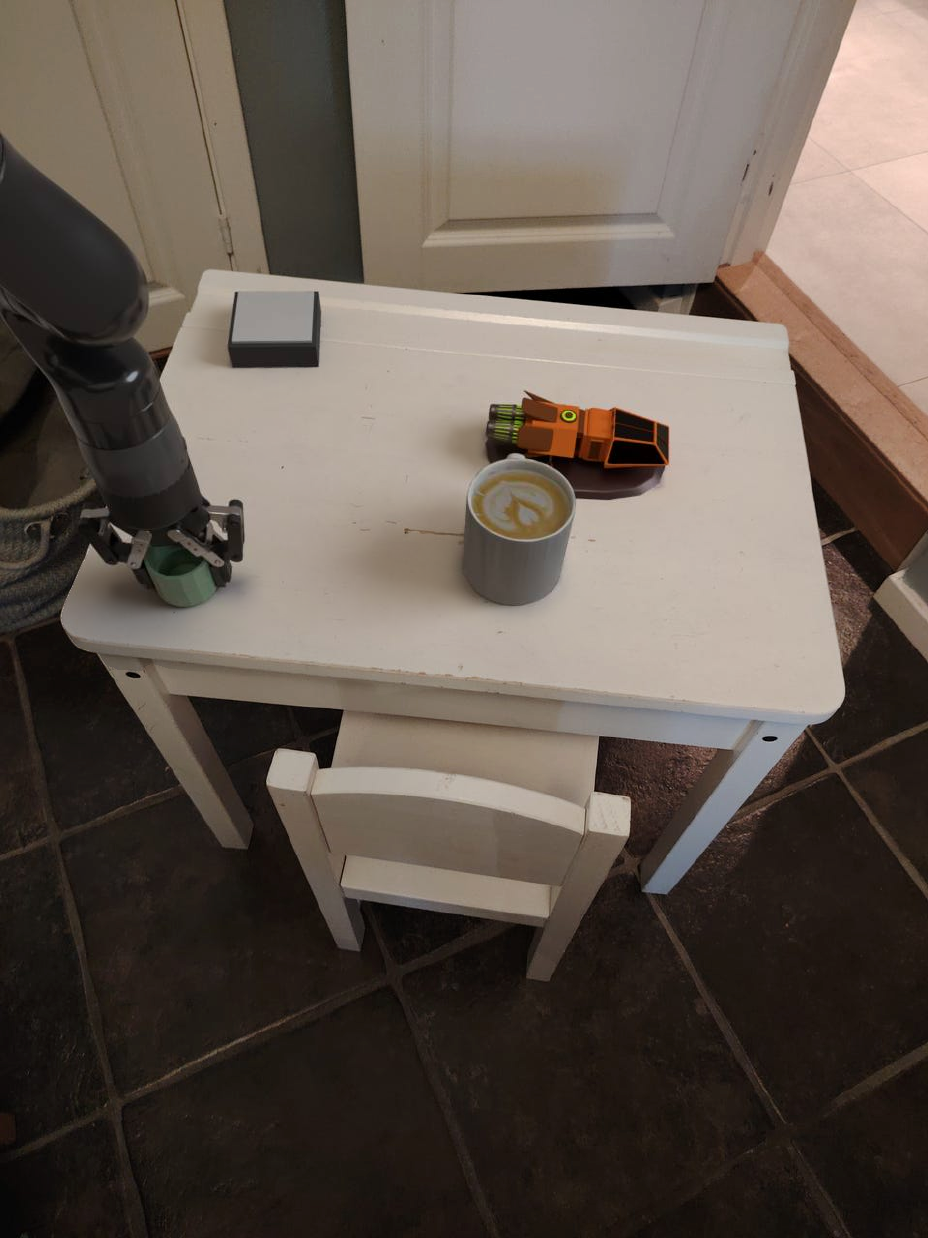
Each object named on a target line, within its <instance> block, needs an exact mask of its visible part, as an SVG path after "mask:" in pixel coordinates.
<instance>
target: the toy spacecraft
mask: <svg viewBox="0 0 928 1238" xmlns="http://www.w3.org/2000/svg"><path fill="white" fill-rule="evenodd" d="M523 392H524V393H525V394H526V395H527V396H528V397H522V399H521V400H522V401H521V404H516V403H515V404H513V403H509V404H508V403H491V404H490V405H489V410H488V420H487V423H486V427H485V429H486V430H485V437H486V438H487V440H486V441H485V443H484V444H485V448H486V455H487V459H488V460H487V461H488V462H489V463H490V464H492V463H495V462H497V461H501V460H505V459H506V458H507V457H508V455H510V454H512V453H517V454H521V455H523V456H524V457H525V459H530V460H535V461H538V462H542V463H544V464H547V465H549V466H550V467H552V468H554V469H556V470H557V471H558V472H560V473H561V474H562V475H563V476H564V477H565V478H566V479H567V480H568V482H569V483H570V485H571V487H572V488H573V491H574V494H575V497H576V499H587V500H588V499H591V500H616V499H623V498H628V497H635V496H641V495H643V494H644V493H646V492H648V491H649V490H650V489H652V488H653V487H655V486H657V485H658V484H660V483H661V479H662V477H663V474H664V472H665V469H666V466H669V465H670V425H667V424H665V423H662V422H659V421H655V420H654V419H650V418H647V417H644V416H641V415H639V414H636V413H632V412H630V411H628V410H624V409H622V408H618V407H616V406H614V407H612V408H610V409H604V408H599V407H590V408H585V410H584V409H582V408H580V406H578V405H571V404H570V405H569V404H563V403H556V402H553V401H551V400H548V399H546V398H544V397H542V396H539V395H537V394H534V393H532V392H530V391H528V390H525V389H523Z"/></svg>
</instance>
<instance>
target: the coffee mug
mask: <svg viewBox="0 0 928 1238" xmlns="http://www.w3.org/2000/svg"><path fill="white" fill-rule="evenodd" d="M466 492H467V493H466V500H465V514H464V515H465V516H464V529H463V531H464V532H463V545H462V558H461V560H462V561H461V566H462V571H463V572H462V573H463V575H464V577H465V579H466V581H467V582H468V585H470V587H471V588H472V589H473V591H475V592H476V593H478V595H480V596H482V597H484V598H485V599H487V600H489V601H492V602H494V603H497V604H500V605H507V606H524V605H528V604H532V603H535V602H538V601H540V600H542V599H544V598H545V597H547V596H548V595H549V594H550V593H551V592H552V591H553V590H554V588H555V587H556V586H557V585H558V582H559V580H560V577H561V574H562V569H563V565H564V562H565V561H564V560H565V557H566V553H567V548H568V544H569V540H570V535H571V532H572V527H573V523H574V519H575V515H576V509H577V498H576V497H575V494H574V491H573V488H572V487H571V485H570V483H569V482H568V480H567V479H566V478H565V477H564V476H563V475H562V474H561V473H560V472H558V471H557V470H556V469H554V468H552V467H550V466H549V465H547V464H544V463H542V462H538V461H535V460H530V459H525V457H524V456H523V455H521V454H517V453H512V454H510V455H508V457H507V458H506V459H505V460H501V461H497V462H495V463H490V464H488V465H486V466H485V467H482V468H481V470H479V471H478V472H477V473H476V474H475V475H474V476H473V478H472V479H471V481H470V482H469V485H468V488H467V491H466Z"/></svg>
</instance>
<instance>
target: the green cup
mask: <svg viewBox="0 0 928 1238" xmlns="http://www.w3.org/2000/svg"><path fill="white" fill-rule="evenodd" d="M143 560H144V563H145V566H146V568H147V570H148V573H149V575H150V577H151V579H152V581H153V583H154V585H155V587H156V589H155V590H156V591H157V594H158V596H159V597H160V598H161V599H162V600H163V601H165V603H167V604H169V605H173V606H175V607H181V608H182V607H192V606H195V605H198V604H201V603H204V602H205V601H206V600H208V599H209V598H210V597H212V596H213V595H214V594H215V592H216V590H217V589H218V587H217V585H216V582H215V579H214V577H213V574H212V571H211V568H210V563H209V562H208V561H207V560H206V559H205V558H203V557H202V556H199V557H196V556H195V555H194V554H193V553H191V552H190V551H189V550H188V549H186V548H185V547H184V546H171V545H168V546H163V547H151V545H148V548H147V551H146V554H145V557H144V558H143Z"/></svg>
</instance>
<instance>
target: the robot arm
mask: <svg viewBox="0 0 928 1238" xmlns="http://www.w3.org/2000/svg"><path fill="white" fill-rule="evenodd" d="M149 305H150V290H149V284H148V279H147V276H146V274H145V271H144V268H143V266H142V265H141V262H140V260H139V259H138V256H137V255H136V254H135V253H134V251H133V250H132V249H131V248H130V246H129V245H128V244H127V243H126V242H125V240H124V239H122V237H120V236H119V235H118V234H117V232H115V231H114V230H113V229H112V228H111V227H110V226H108V224H106V223H105V222H104V221H103V220H102V219H100V218H99V217H98V216H97V215H96V214H94V213H93V212H92V211H91V210H90V209H88V208H87V207H86V206H85V205H83V204H82V203H81V202H80V201H79V200H78V199H76V198H75V197H73V196H72V195H71V194H70V192H68V191H66V190H65V189H64V188H63V187H62V186H60V185H59V184H58V183H56V182H55V181H54V180H52V179H51V178H50V177H49V176H47V175H46V174H45V173H43V172H42V171H41V170H40V169H38V168H37V167H36V166H35V165H33V164H32V163H31V162H30V161H29V160H28V159H27V157H25V156H24V155H22V153H20V152H19V151H18V149H16V148H15V147H14V145H13V144H12V143H11V141H9V139H8V138H7V137H6V136H5V135H4V133H2V131H0V318H2V320H3V322H4V323H5V324H6V326H7V327H8V328H9V330H10V331H11V333H12V334H13V336H14V337H15V338H16V339H17V341H18V342H19V343H20V345H21V346H22V348H23V349H24V350H25V352H26V353H27V355H28V356H29V357H30V359H31V360H32V361H33V362H34V363H35V365H36V366H37V367H38V368H39V369H40V371H41V372H42V373H43V374H44V376H45V377H46V379H48V381H49V382H50V384H51V385H52V388H53V389H54V390H55V393H56V395H57V398H58V401H59V403H60V406H61V408H62V410H63V412H64V414H65V416H66V418H67V420H68V422H69V424H70V426H71V428H72V431H73V433H74V435H75V437H76V441H77V445H78V448H79V452H80V455H81V457H82V460H83V461H84V463H85V465H86V467H87V470H88V472H89V474H90V475H91V478H92V480H93V482H94V484H95V486H96V488H97V490H98V492H99V494H100V496H101V498H102V500H103V502H104V504H105V506H106V507H102V508H100V507H99V506H98V505H97V504H96V503H94V502H91V501H87V502H84V503H83V505H82V508H81V512H80V516H79V521H78V526H77V528H78V530H79V531H80V533H81V534H82V535H83V537H84V538H85V539H86V540H87V541H88V543H89V544H90V545H91V547H92V548H93V550H95V552H96V553H97V554H98V556H99V557H100V558H101V560H102V561H103V562H104V563H105V564H106V565H110V566H116V565H118V563H123V564H126V567H128V568H130V569H131V570H132V572H133V574H134V577H135V578H136V581H137V582H138V584H140V585H142V586H145V588H146V590H156V587H155V585H154V583H153V581H152V579H151V577H150V575H149V573H148V570H147V568H146V566H145V563H144V560H143V558H144V557H145V554H146V551H147V548H148V545H151V547H163V546H168V545H171V546H184V547H185V548H186V549H188V550H189V551H190V552H191V553H193V554H194V555H195V556H196V557H199V556H202V557H203V558H205V559H206V560H207V561H208V562H209V563H210V568H211V571H212V574H213V577H214V579H215V582H216V585H217V589H220V588H226V587H227V583H231V580H232V575H233V565H232V562H233V563H240V562H242V561H243V559H244V546H245V545H244V544H245V538H246V535H245V518H244V503H243V502H242V501H241V500H240V499H237V498H236V499H231V500H229V501H228V505H215V504H214V505H213V504H211V502H210V501H209V500H208V499H207V498H206V497H204V495H203V494H202V492H201V488H200V483H199V481H198V479H197V476H196V472H195V469H194V467H193V464H192V460H191V458H190V455H189V451H188V445H187V441H186V439H185V437H184V435H183V433H182V432H181V428H180V426H179V423H178V421H177V419H176V417H175V415H174V413H173V412H172V409H171V408H170V405H169V403H168V400H167V397H166V395H165V392H164V389H163V385H162V383H161V381H160V377H159V374H158V373H159V372H158V371H157V368H156V365H155V364H154V362H153V359H152V357H151V355H150V354H149V352H148V351H147V349H146V347H144V345H143V344H141V342H139V341H138V340H137V339H136V337H135V336H136V334H137V333H138V332H140V330H141V329H142V327H143V325H144V323H145V321H146V319H147V316H148V312H149V308H150V306H149ZM211 521H213V522H216V523H217V526H218V527H219V528H221V533H222V534H226V537H227V539H225V538H224V537H223V536H221V535H220V534H219V533H218V532H217V531H216V530H215V529H214V526H213V523H212V522H211ZM113 526H114V527H115V528H117V529H119V530H120V531H122V532H123V533H125V534H127V535H129V536H131V540H130V542H125V541H123V539H122V537H121V536H120V535H119V533H118V532H117V531H116V529H115V528H114V527H113Z"/></svg>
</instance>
